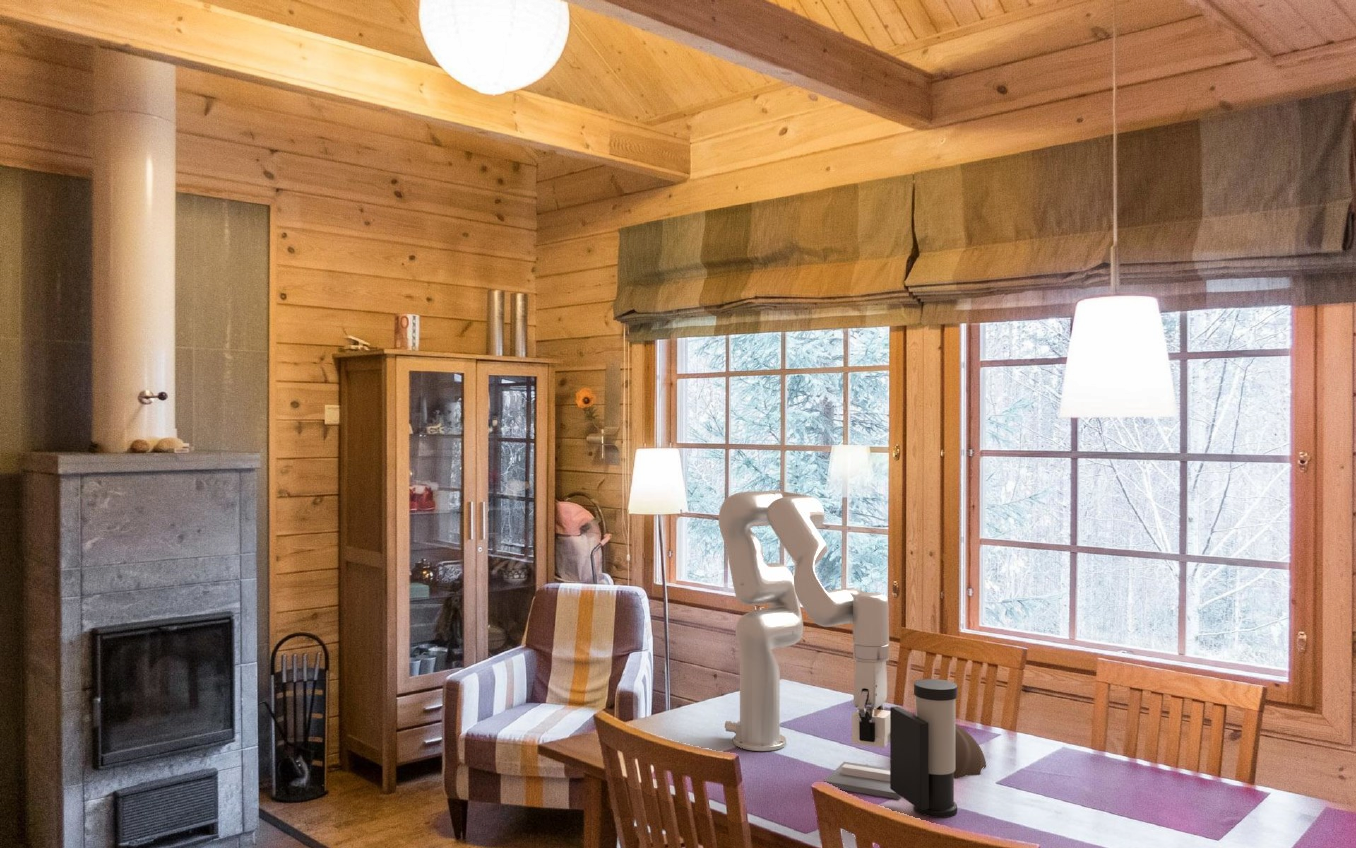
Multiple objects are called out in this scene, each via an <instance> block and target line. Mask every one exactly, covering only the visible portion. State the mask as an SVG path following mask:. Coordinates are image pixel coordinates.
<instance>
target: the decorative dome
mask: <svg viewBox="0 0 1356 848" xmlns="http://www.w3.org/2000/svg"><path fill="white" fill-rule="evenodd" d="M986 766H987V761H986V758H985V755H984V752H983V750H982V747H981V746H980V745H979V743H978V742H977V740H976V739H975V738H974V737H973V736H972V735H971V734H970V733H969V732H968V731H967V730H965V729H964V728H963V727H961V726H960V725H958V724H957V723H955V771H954V779H960V778H959V777H961V778H963V777H966V775H967V776H979V775H981V771H982V770H983V769H984V768H983V767H986ZM982 768H983V769H982ZM986 768H987V767H986Z"/></svg>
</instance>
